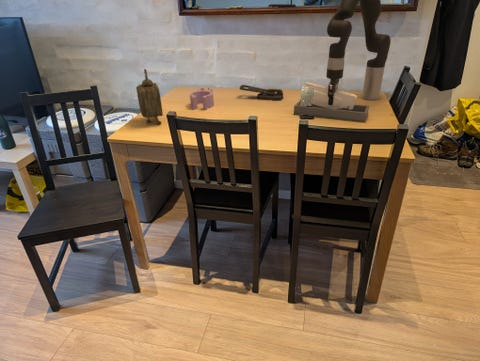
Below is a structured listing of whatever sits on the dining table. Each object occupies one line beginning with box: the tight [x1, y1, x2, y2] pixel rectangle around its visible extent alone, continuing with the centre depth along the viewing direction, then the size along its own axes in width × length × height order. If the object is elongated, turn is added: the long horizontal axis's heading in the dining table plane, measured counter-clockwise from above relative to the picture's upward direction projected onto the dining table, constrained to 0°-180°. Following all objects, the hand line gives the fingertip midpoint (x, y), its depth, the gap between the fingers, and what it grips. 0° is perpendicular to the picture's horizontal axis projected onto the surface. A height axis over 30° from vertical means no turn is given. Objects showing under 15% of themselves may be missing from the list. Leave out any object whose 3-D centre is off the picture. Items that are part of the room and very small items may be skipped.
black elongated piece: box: [239, 84, 284, 102], centre depth 199 cm, size 9×7×25 cm
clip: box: [189, 87, 215, 111], centre depth 191 cm, size 20×12×7 cm, turn 173°
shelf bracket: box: [300, 81, 358, 110], centre depth 170 cm, size 6×25×13 cm, turn 70°
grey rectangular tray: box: [293, 98, 370, 124], centre depth 171 cm, size 12×34×4 cm, turn 66°
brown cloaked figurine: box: [135, 68, 164, 125], centre depth 164 cm, size 14×9×25 cm, turn 21°
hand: (331, 102), depth 169 cm, fingers closed on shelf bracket, 5 cm apart
